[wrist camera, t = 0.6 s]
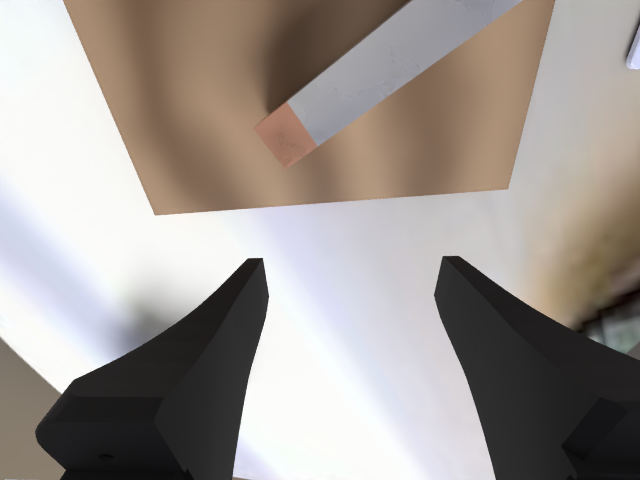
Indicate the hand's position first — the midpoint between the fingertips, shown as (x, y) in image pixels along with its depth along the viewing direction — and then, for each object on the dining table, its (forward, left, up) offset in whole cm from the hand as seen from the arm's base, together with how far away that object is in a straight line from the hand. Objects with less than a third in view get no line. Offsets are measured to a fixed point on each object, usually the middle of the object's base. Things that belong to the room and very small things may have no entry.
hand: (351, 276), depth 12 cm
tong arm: (-2, -7, -8) cm, 11 cm away
